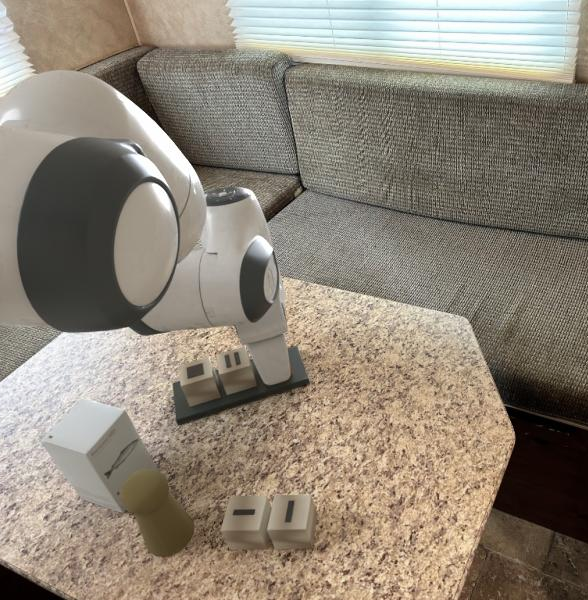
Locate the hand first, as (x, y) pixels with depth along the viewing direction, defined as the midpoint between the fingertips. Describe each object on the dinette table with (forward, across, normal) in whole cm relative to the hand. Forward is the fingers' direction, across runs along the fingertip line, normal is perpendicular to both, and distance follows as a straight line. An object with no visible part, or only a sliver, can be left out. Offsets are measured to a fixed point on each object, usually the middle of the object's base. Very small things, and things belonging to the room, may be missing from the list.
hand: (273, 362), depth 94 cm
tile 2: (+2, 0, -6) cm, 6 cm away
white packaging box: (+3, +11, -24) cm, 26 cm away
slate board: (+3, 0, -6) cm, 6 cm away
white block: (+3, +28, -3) cm, 28 cm away
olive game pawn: (+3, +22, -18) cm, 28 cm away
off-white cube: (+3, +26, -8) cm, 27 cm away
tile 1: (+2, 0, -11) cm, 11 cm away
